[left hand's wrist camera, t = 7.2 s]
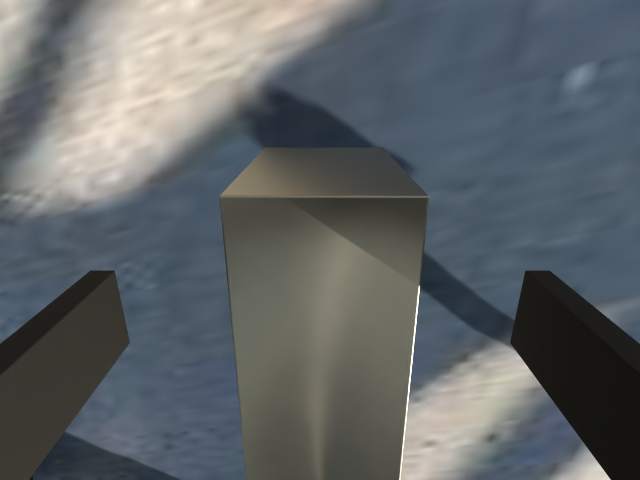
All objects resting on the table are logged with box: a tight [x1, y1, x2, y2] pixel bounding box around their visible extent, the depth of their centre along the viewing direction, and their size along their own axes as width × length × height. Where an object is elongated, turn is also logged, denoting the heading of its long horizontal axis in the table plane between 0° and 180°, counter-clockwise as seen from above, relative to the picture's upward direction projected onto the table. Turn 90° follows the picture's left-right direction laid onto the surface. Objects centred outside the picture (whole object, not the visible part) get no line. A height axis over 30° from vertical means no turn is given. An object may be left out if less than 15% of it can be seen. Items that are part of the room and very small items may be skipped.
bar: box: [220, 147, 429, 480], centre depth 20 cm, size 26×6×9 cm, turn 0°
